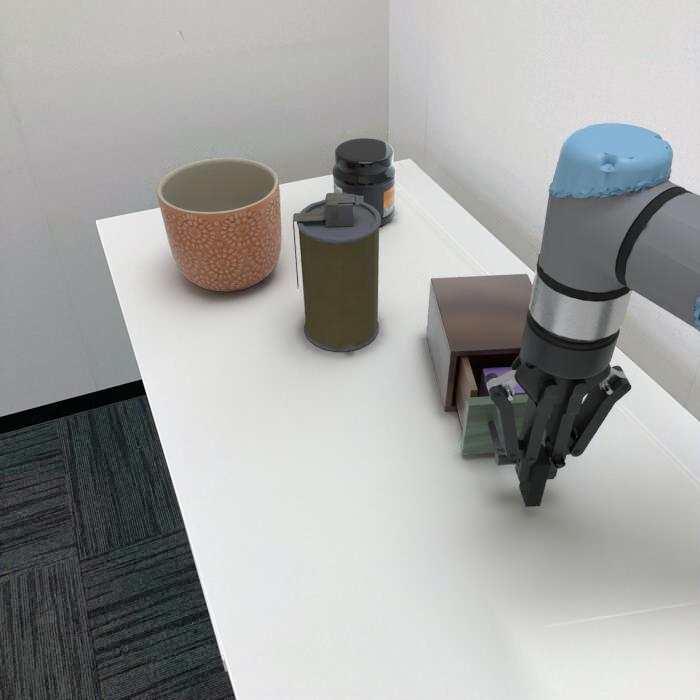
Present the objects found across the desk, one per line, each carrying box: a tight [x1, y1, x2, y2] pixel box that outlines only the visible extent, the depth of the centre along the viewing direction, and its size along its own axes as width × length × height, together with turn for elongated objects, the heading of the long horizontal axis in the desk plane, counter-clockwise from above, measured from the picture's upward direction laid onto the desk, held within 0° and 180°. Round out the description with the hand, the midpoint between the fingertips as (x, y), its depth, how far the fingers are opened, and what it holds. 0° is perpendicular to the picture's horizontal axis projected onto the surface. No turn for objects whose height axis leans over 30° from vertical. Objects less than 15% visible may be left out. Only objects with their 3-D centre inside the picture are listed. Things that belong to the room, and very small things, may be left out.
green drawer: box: [453, 353, 567, 466], centre depth 80 cm, size 19×11×8 cm, turn 4°
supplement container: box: [332, 137, 397, 226], centre depth 118 cm, size 10×10×12 cm
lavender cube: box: [479, 367, 526, 397], centre depth 82 cm, size 4×4×4 cm
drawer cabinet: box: [426, 273, 533, 412], centre depth 88 cm, size 15×13×10 cm
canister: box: [292, 192, 381, 352], centre depth 92 cm, size 11×10×20 cm
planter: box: [156, 156, 283, 293], centre depth 104 cm, size 17×17×15 cm
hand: (529, 495), depth 73 cm, fingers closed
